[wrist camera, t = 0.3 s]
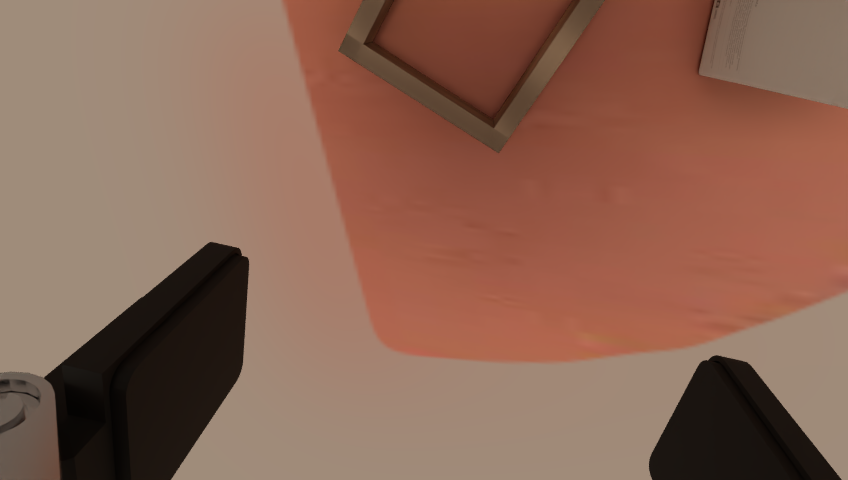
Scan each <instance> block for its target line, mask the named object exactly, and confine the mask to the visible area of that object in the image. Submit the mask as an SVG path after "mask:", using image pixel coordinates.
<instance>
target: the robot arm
mask: <svg viewBox="0 0 848 480" xmlns="http://www.w3.org/2000/svg"><path fill="white" fill-rule="evenodd" d="M248 271H249V260H248V258H247V257H244V256H242V254H241V250H240V249H239V248H236V247H232V246H227V245H223V244H218V243H213V242H210V243H208V244H207V245H205V246H204V247H203V248H202V249H201V250H199V251H198V252H197V253H196V254H195V255H193V256H192V257H191V258H190V259H188V260H187V261H186V262H185V263H184V264H182V265H181V266H180V267H179V268H178V269H176V270H175V271H174V272H173V273H172V274H170V275H169V276H168V277H167V278H165V279H164V280H163V281H162V282H161V283H159V284H158V285H157V286H156V287H155V288H153V289H152V290H151V291H150V292H149V293H147V294H146V295H145V296H144V297H142V298H140V299H139V300H138V301H137V302H135V303H134V304H133V305H131V306H130V307H129V308H128V309H127V310H125V311H124V312H123V313H122V314H121V315H119V316H118V317H117V318H116V319H114V320H113V321H112V322H111V323H110V324H108V325H107V326H106V327H105V328H104V329H102V330H101V331H100V332H99V333H98V334H96V335H95V336H94V337H93V338H91V339H90V340H89V341H88V342H87V343H86V344H84V345H83V346H82V347H81V348H79V349H78V350H77V351H76V352H74V353H73V354H72V355H71V356H70V357H68V359H66V360H65V361H64V362H62V363H61V364H60V365H59V366H58V367H56V368H55V369H54V370H53V371H51V372H50V373H49V374H48V375H47V376H45V377H44V378H43V377H40V376H37V375H34V374H30V373H23V372H4V373H0V480H171V479H172V477H173V476H174V474H175V473H176V471H177V470H178V468H179V467H180V465H181V463H182V462H183V461H184V459H185V458H186V456H187V455H188V453H189V452H190V450H191V449H192V447H193V446H194V444H195V442H196V441H197V440H198V438H199V437H200V435H201V434H202V432H203V431H204V429H205V428H206V426H207V425H208V423H209V422H210V420H211V419H212V417H213V415H214V414H215V413H216V411H217V410H218V408H219V407H220V405H221V404H222V402H223V401H224V399H225V398H226V396H227V395H228V393H229V392H230V390H231V389H232V387H233V385H234V384H235V383H236V381H237V379H238V377H239V375H240V372H241V369H242V365H243V352H244V337H245V320H246V304H247V289H248V273H249V272H248ZM649 471H650V475H651V477H652V480H841V478H840V477H839V476H838V475H837V473H836V472H835V471H834V470H833V468H832V467H831V466H830V465H829V463H828V462H827V461H826V459H825V458H824V457H823V456H822V454H821V453H820V452H819V451H818V449H817V448H816V447H815V446H814V445H813V443H812V442H811V441H810V439H809V438H808V437H807V436H806V435H805V433H804V432H803V431H802V430H801V428H800V427H799V426H798V424H797V423H796V422H795V421H794V419H793V418H792V417H791V416H790V414H789V413H788V412H787V410H786V409H785V408H784V407H783V406H782V404H781V403H780V402H779V400H778V399H777V398H776V397H775V395H774V394H773V393H772V392H771V391H770V389H769V388H768V387H767V385H766V384H765V383H764V382H763V380H762V379H761V378H760V377H759V375H758V374H757V373H756V372H755V370H754V369H753V368H752V366H751V365H750V364H748V363H747V362H743V361H740V360H735V359H731V358H726V357H722V356H717V355H716V356H713V357H711V358H710V359H709V360H708V361H707V360H705V361H702V362H701V363H700V364H699V366H698V367H697V369H696V371H695V373H694V375H693V377H692V379H691V381H690V382H689V384H688V386H687V388H686V390H685V392H684V394H683V396H682V397H681V400H680V402H679V403H678V405H677V407H676V409H675V411H674V413H673V415H672V417H671V418H670V420H669V422H668V424H667V426H666V428H665V430H664V432H663V433H662V435H661V437H660V439H659V441H658V443H657V445H656V447H655V448H654V450H653V452H652V454H651V457H650V461H649Z"/></svg>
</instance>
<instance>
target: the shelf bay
mask: <svg viewBox="0 0 848 480" xmlns="http://www.w3.org/2000/svg"><path fill="white" fill-rule="evenodd" d="M393 1H394V0H363V1H362V3H361V5H360V7H359V9H358V11H357V14H356V16H355V18H354V20H353V22H352V24H351V26H350V28H349V30H348V32H347V34H346V36H345V38H344V40H343V42H342V44H341V46H340V48H339V50H338V51H339V52H341V53H342V54H344V55H346V56H347V57H349V58H350V59H352V60H353V61H355V62H357V63H358V64H360V65H361V66H363V67H364V68H366V69H368V70H369V71H371V72H372V73H374V74H375V75H377V76H379V77H380V78H382V79H383V80H385V81H386V82H388V83H389V84H391V85H393V86H394V87H396V88H397V89H399V90H400V91H402V92H404V93H405V94H407V95H408V96H410V97H411V98H413V99H415V100H416V101H418V102H419V103H421V104H422V105H424V106H426V107H427V108H429V109H430V110H432V111H433V112H435V113H436V114H438V115H440V116H441V117H443V118H444V119H446V120H447V121H449V122H451V123H452V124H454V125H455V126H457V127H458V128H460V129H462V130H463V131H465V132H466V133H468V134H469V135H471V136H473V137H474V138H476V139H477V140H479V141H480V142H482V143H484V144H485V145H487V146H488V147H490V148H491V149H493V150H494V151H496V152H498V153H499V152H500V150H501V149H502V148H503V146H504V145H505V143H506V142H507V140H508V139H509V137H510V136H511V135H512V133H513V132H514V130H515V129H516V127H517V126H518V125H519V123H520V122H521V120H522V119H523V117H524V116H525V114H526V113H527V112H528V110H529V109H530V107H531V106H532V104H533V103H534V101H535V100H536V99H537V97H538V96H539V94H540V93H541V91H542V90H543V89H544V87H545V86H546V84H547V83H548V81H549V80H550V78H551V77H552V76H553V74H554V73H555V71H556V70H557V68H558V67H559V65H560V64H561V63H562V61H563V60H564V58H565V57H566V55H567V54H568V53H569V51H570V50H571V48H572V47H573V45H574V44H575V42H576V41H577V40H578V38H579V37H580V35H581V34H582V32H583V31H584V30H585V28H586V27H587V25H588V24H589V22H590V21H591V19H592V18H593V17H594V15H595V14H596V12H597V11H598V9H599V8H600V6H601V5H602V4H603V2H604V1H605V0H573V1H572V2H571V4H570V5H569V7H568V8H567V10H566V11H565V13H564V14H563V16H562V17H561V19H560V20H559V22H558V23H557V25H556V26H555V28H554V29H553V31H552V32H551V34H550V35H549V37H548V38H547V40H546V41H545V43H544V44H543V46H542V47H541V49H540V50H539V52H538V53H537V55H536V56H535V58H534V59H533V61H532V62H531V64H530V65H529V67H528V68H527V70H526V71H525V73H524V74H523V76H522V77H521V79H520V80H519V82H518V83H517V85H516V86H515V88H514V89H513V91H512V92H511V94H510V95H509V97H508V98H507V100H506V101H505V103H504V104H503V106H502V107H501V109H500V110H499V112H498V113H497V115H496V116H495V118H494V119H491V118H490V117H488V116H487V115H485V114H484V113H482V112H480V111H479V110H477V109H476V108H474V107H473V106H471V105H470V104H468V103H467V102H465V101H463V100H462V99H460V98H459V97H457V96H456V95H454V94H453V93H451V92H450V91H448V90H447V89H445V88H443V87H442V86H440V85H439V84H437V83H436V82H434V81H433V80H431V79H430V78H428V77H426V76H425V75H423V74H422V73H420V72H419V71H417V70H416V69H414V68H413V67H411V66H409V65H408V64H406V63H405V62H403V61H402V60H400V59H399V58H397V57H396V56H394V55H392V54H391V53H389V52H388V51H386V50H385V49H383V48H382V47H380V46H379V45H377V44H375V43H374V42H373V40H374V38H375V36H376V34H377V32H378V30H379V28H380V26H381V24H382V22H383V20H384V18H385V16H386V14H387V12H388V10H389V9H390V7H391V5H392V3H393Z"/></svg>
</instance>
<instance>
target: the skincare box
mask: <svg viewBox="0 0 848 480" xmlns="http://www.w3.org/2000/svg"><path fill="white" fill-rule="evenodd" d="M699 75H702V76H707V77H711V78H716V79H720V80H724V81H729V82H734V83H739V84H743V85H747V86H751V87H755V88H760V89H764V90H768V91H773V92H777V93H781V94H786V95H790V96H794V97H799V98H803V99H807V100H812V101H816V102H820V103H825V104H829V105H834V106H838V107H842V108H846V109H848V0H715V1H714V6H713V10H712V14H711V19H710V23H709V27H708V32H707V37H706V41H705V46H704V50H703V55H702V59H701V64H700V68H699Z"/></svg>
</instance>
